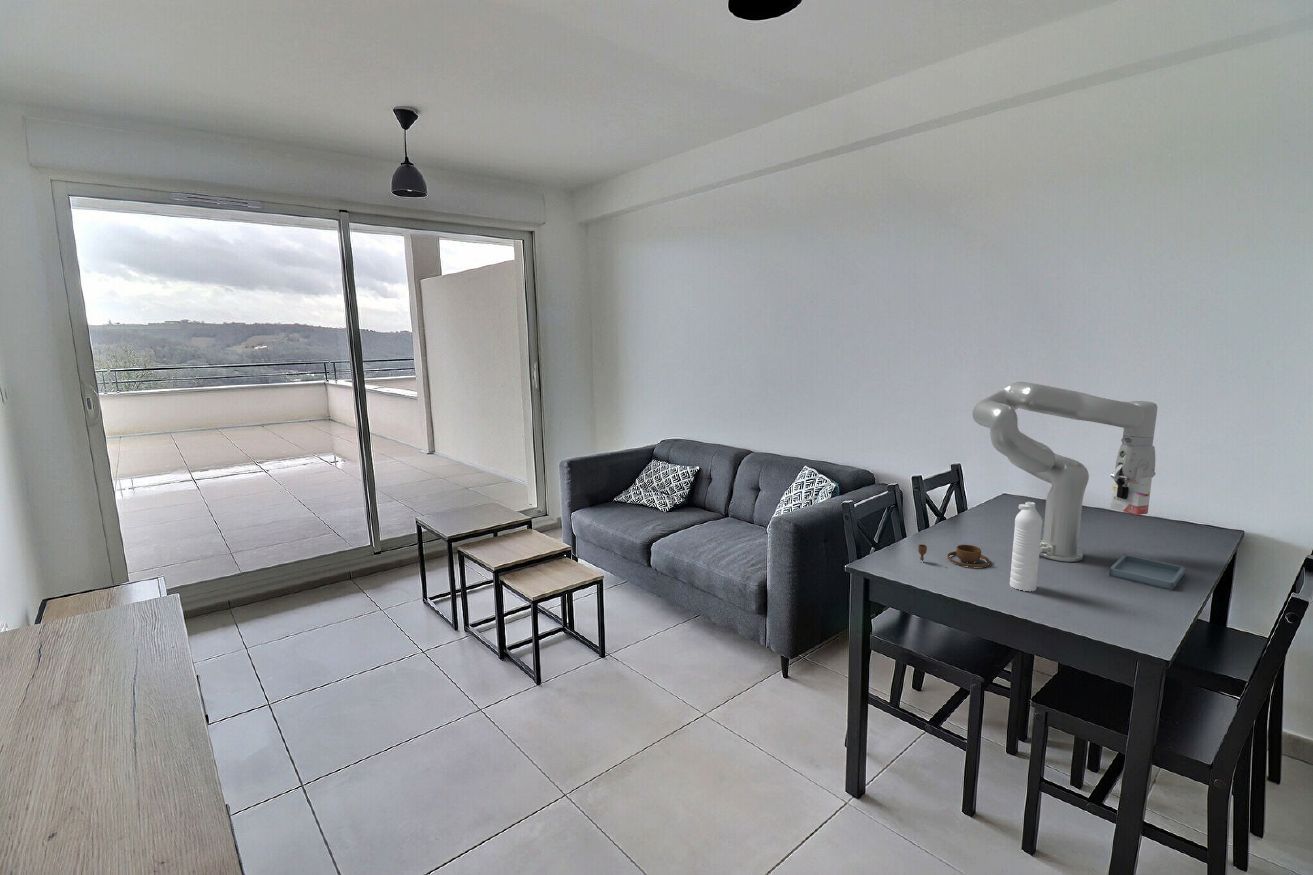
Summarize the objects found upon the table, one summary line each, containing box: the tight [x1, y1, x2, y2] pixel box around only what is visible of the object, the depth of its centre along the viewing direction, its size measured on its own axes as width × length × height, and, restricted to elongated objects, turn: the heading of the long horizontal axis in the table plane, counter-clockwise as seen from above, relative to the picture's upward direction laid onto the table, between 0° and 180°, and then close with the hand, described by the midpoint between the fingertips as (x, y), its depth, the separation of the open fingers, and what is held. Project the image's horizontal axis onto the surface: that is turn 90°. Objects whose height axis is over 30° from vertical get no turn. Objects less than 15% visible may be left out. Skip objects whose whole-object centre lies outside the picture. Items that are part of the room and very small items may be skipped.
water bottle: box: [1009, 501, 1043, 592], centre depth 170 cm, size 9×6×25 cm
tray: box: [1108, 554, 1186, 591], centre depth 179 cm, size 17×15×2 cm
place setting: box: [917, 543, 991, 568], centre depth 194 cm, size 18×20×6 cm
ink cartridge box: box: [1110, 468, 1153, 516], centre depth 191 cm, size 9×5×15 cm, turn 17°
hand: (1130, 497), depth 192 cm, fingers closed on ink cartridge box, 5 cm apart
